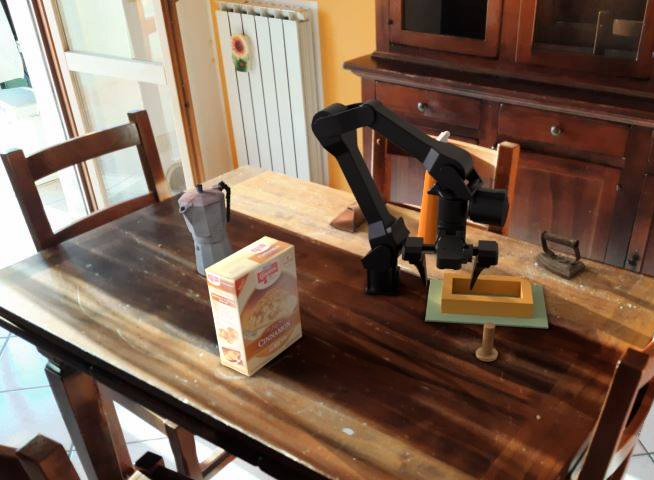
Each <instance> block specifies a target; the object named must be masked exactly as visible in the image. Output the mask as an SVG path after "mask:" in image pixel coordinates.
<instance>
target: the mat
mask: <svg viewBox="0 0 654 480" xmlns="http://www.w3.org/2000/svg"><path fill="white" fill-rule="evenodd" d="M442 285H443V279H430V280H429V287H428V295H427V303H426V311H425V318H424V319H425V320H424V322H429V323H430V322H433V323H448V324H449V323H450V324H451V323H452V324H463V325H478V326H479V325H481V326H484V324H485V323H487V322H491V323H494V324H495V327H496V326H498V327H513V328H528V329H529V328H531V329H546V330H548V329H549V321H548V314H547V309H546V302H545V296H544V289H543V285H535V284H531V289H532V297H533V311H532V318H519V317H502V316H485V315H468V314H451V313H441V296H442ZM452 294H459V295H476V296H494V297H512V298H519V296H518V295H500V294H483V293H465V292H452Z"/></svg>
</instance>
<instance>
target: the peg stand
mask: <svg viewBox="0 0 654 480" xmlns="http://www.w3.org/2000/svg"><path fill="white" fill-rule="evenodd" d="M495 332H496V326H495V324H494V323H491V322H487V323H485V324H484V325H483V332H482V341H481V342H482V343H481V346H480V347H478V348H477V349H476V350H475V357H476V358H477V359H478V360H480V361H481V362H482V361H483V362H485V363H486V362H488V363H489V362H493V361H494V362H495V360H497V359H498V357H499V351H497V349H496V348H494V342H495V334H496V333H495Z"/></svg>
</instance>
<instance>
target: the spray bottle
mask: <svg viewBox="0 0 654 480" xmlns="http://www.w3.org/2000/svg"><path fill="white" fill-rule="evenodd" d="M450 136H451V133H450V131H448V130H446V131H444V132H443V131H441V132H440V133H439V135H438V136H437V137H436V138H435V139H436V140H438V141H441V142H446V143H449V142H448V141H449V140H448V139H449V137H450ZM436 182H437V181H436V180H435V179H434V178H433V177H431V176H430V175H429V174H428V172H427V170H426V169H425V175H424V183H423V192H422V197H421V206H420V207H421V208H420V214H419V222H418V230H417V237H424V244H435V240H436V231H437V208H438V196H436V195H429V194H427V191H428V190H429V189H430V188H431V187H432V186H433V185H434V184H435V183H436Z"/></svg>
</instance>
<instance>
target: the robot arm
mask: <svg viewBox="0 0 654 480" xmlns="http://www.w3.org/2000/svg"><path fill="white" fill-rule="evenodd" d="M364 127H368V128H369V129H371V130H373V131H374V132H376V133H377V134H379V135H380V136H382V137H383V138H385V139H386V140H387V141H389V142H390V143H392V144H394V145H395V146H396V147H398V148H399V149H401V150H403V151H404V152H406V153H407V154H408V155H410V156H411V157H413V158H414V159H416V160H417V161H418V162H420V163H421V164H422V165H423V167H424V169H425V171H426V170H427V172H428V174H429V175H430V176H431V177H433V178H434V179H435V180H436V181H437V182H436V183H435V184H434V185H433V186H432V187H431V188H430V189H429V190H428V191H427V194H429V195H436V196H438V208H437V231H436V240H435V244H424V237H418V236H410V234H411V231H410V230H409V229H408V227H407V226H406V223H405V220H404V217H403V216H402V215H400V216H398V217H397V218H396V217H395V216H394V215H393V214H392V213H390V212H389V210H388V208H387V206H386V205H387V204H386V205H385V203H384V201H383V199H382V197H381V195H380V193H381V192H380V191H379V189H378V186H377V184H376V182H375V180H374V178H373V176H372V173H371V171H370V169H369V168H368V165H367V163H366V161H365V159H364V157H363V155H362V153H361V151H360V148H359V145H358V143H359V142H358V129H361V128H364ZM310 128H311V132H312V133H313V136H314V137H315V138H316V139H317V141H318V143H319V145H320V146H321V147H322V148H323V149H324V150H325V151H326V152H327V153H328V154H331V156H332V157H334V159H335V160H336V162H337V164H338V167H339V168H340V171H341V172H342V174H343V177H344V179H345V181H346V182H347V184H348V186H349V188H350V190H351V191H350V192H351V193H352V194H353V196H354V199H355V201H357V203H358V205H359V207H360V209H361V211H362V213H363V215H364V217H365V219H366V221H365V222H366V224H367V239H368V243H369V246H370V250H369V251H367V253H366V254H365V255H363V257H362V258H361V259H360V262H361V264H362V267H363V269H364V270H366V288H365V294H366V295H377V296H378V295H379V296H396V295H397V294H398V290H399V289H400V286H401V269H402V268H401V266H400V265H399V258H400V257H401V260H402V261H404V262H408V264H409V265H413V266H414V267H415V268H416V269H417V271H418V273H419V275H420V279H421V282H422V284H423V287H424V288H425V289H426V288H427V287H428V271H427V270H428V269H427V258H426V255H435V256H436V259H435V266H436V268H437V269H438V270H440V271H441V270H442V271H443V270H452V271H459V270H461V269H462V266H463V265H468V263H471V264H472V263H473V265H472V270H471V274H472V275H471V280H470V290H472V289H473V287H474V285H475V282H476V280H477V278H478V276H479V275H481V273H482V272H483V271H484V270H485V269H490V268H491V267H492V266H493V267H495V266H497V265H498V264H499V256H500V255H499V254H500V253H499V252H500V251H499V243H498V242H497V240H485V239H478V241H477V242H478V243H477V245H475V246H474V244H473V243H472V244H471V243H467V241H466V236H467V224H468V223H467V222H468V218H469V221H471V222H473V223H474V224H480V225H486V226H492V227H493V226H494V227H500V228H504V227H505V226H506V223H507V219H508V216H509V211H510V202H509V196H508V189H505V188H491V187H486V186H485V187H484V186H483V185H484V181H483V179H482V177H481V176H480V174H479V172H478V171H477V168H475V166H474V165H475V164H474V159H473V156H472V154H471V153H470V152H469V151H468V150H466V149H464V148H461V147H460V146H457V145H456V144H453V143H451V142H447V143H446V142H441V141H438V140H436V139H437V138H434V137H432V136H431V135H429V134H427V133H426V132H424V131H423V130H421V129H419V127H417V126H415V125H414V124H412V123H411V122H409V121H407V119H405V118H403V117H402V116H400V115H399V114H397V113H396V112H395V111H393V110H391V109H390V108H389V107H387V106H385V105H384V104H383V102H382V101H381V100H379V99H376V98H371V99H368V100H367V101H360V102H355V103H350V104H343V103H340V102H334V103H331V104H329V105H328V106H326V107H324V108H323V109H321V110H318V111H316V113H315V114H313V116H312V119H311V123H310ZM465 181H467V184H466V182H465ZM473 257H474V260H473Z"/></svg>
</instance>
